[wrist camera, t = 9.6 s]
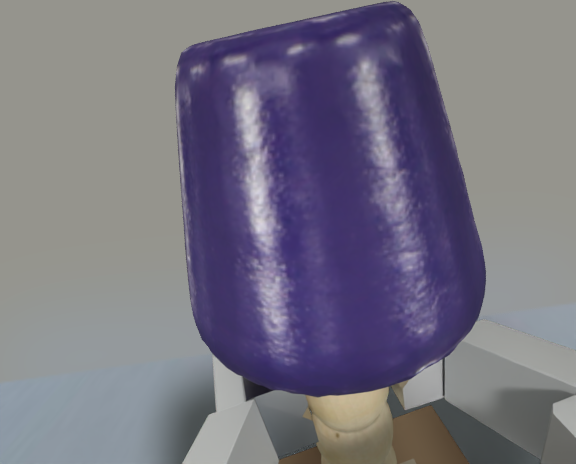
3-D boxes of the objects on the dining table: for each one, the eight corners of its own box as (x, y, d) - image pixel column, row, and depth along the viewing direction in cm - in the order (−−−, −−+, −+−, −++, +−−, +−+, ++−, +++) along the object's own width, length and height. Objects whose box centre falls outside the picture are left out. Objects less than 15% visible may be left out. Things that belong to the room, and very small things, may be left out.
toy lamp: (325, 493, 15) (186, 42, 7) (449, 505, 14) (456, -23, 6) (310, 669, 11) (-54, 107, 3) (480, 709, 10) (647, -57, 2)
